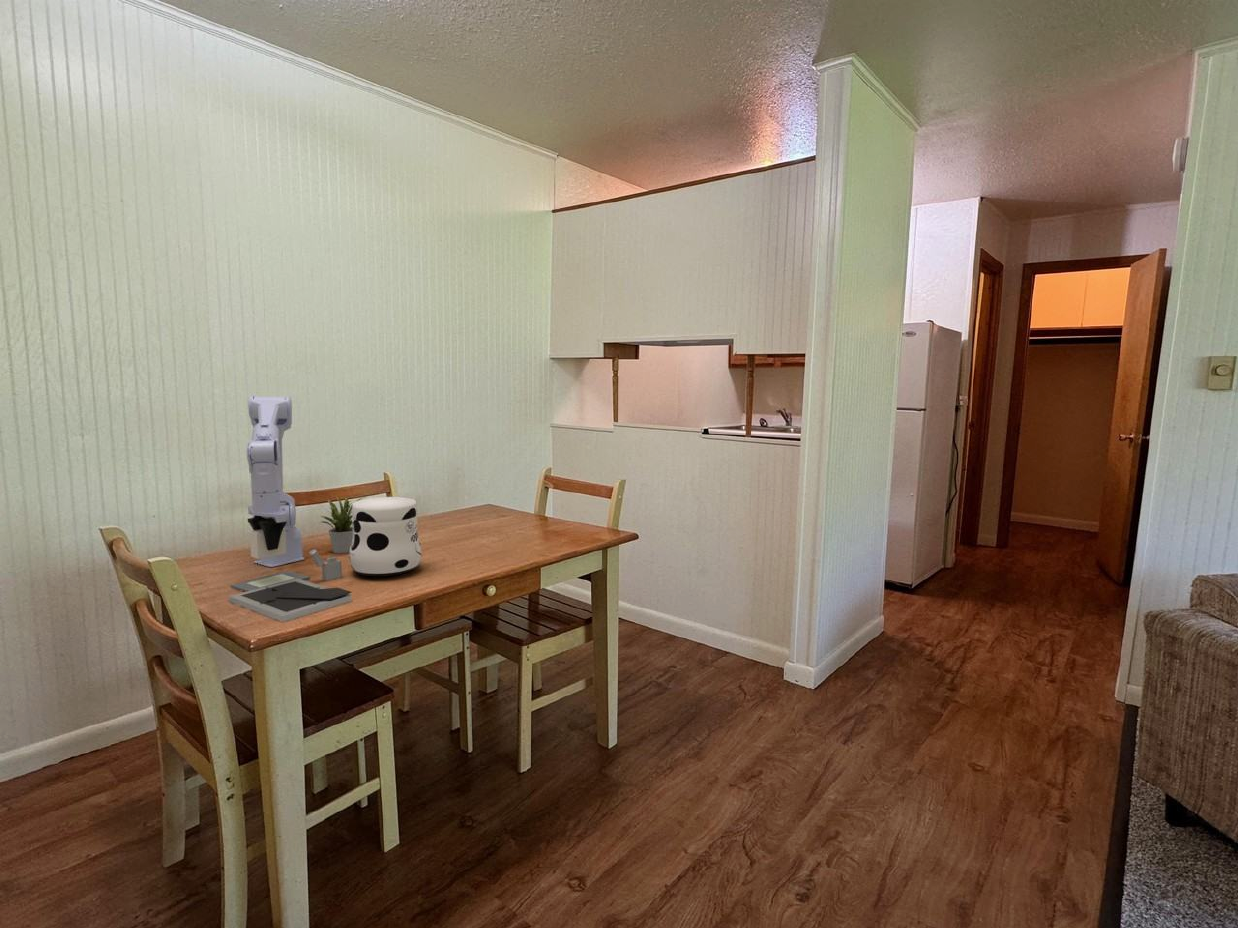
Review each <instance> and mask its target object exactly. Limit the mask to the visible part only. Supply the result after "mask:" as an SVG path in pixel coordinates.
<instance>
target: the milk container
mask: <svg viewBox="0 0 1238 928" xmlns="http://www.w3.org/2000/svg"><path fill="white" fill-rule="evenodd" d="M355 501H356V500H355ZM355 501H354V502H352V504H353V505H352V504H351V506H352V510H351V512H352V513H351V515H352V518H351V520H352V524H351V527H352V529H353V538H352V543H351V547H350V552H349V553H348V554H349V555H348V556H349V562H350V566H351V569H352V571H354V572H356V573H357V574H359V575H362V576H368V577H380V578H381V577H391V576H398V575H402V574H405V573H410V572H412V571H413V570H416V568H418V566H419V565H420V563H421V560H422V546H421V541H420V538H419V535H418V504H417V501H416V500H415V499H414V498H410V497H405V496H404V497H403V496H379V497H378V496H377V497H369V498H363V499H361V500H359V501H356V502H355Z"/></svg>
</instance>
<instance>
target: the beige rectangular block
mask: <svg viewBox="0 0 1238 928" xmlns="http://www.w3.org/2000/svg"><path fill="white" fill-rule="evenodd" d="M249 542H250V543H249V544H250V556H251V557H252V558H255V559H257V560H261V558H266V557H271V556H276V555H281V554H286V536H285V529H284V528H283V530H282V533H281V537H280V541H279V546H278V549H274V550H268V549H267V546H266V541H265V536H264V533H263V530H262V529H261V530H255V531H254V530H251V531H249Z"/></svg>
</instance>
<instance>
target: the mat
mask: <svg viewBox="0 0 1238 928" xmlns="http://www.w3.org/2000/svg"><path fill="white" fill-rule="evenodd" d="M294 579H301V580H304V581H309V580H311V577H310V576H308V575H305V574H300V573H297V572H293V571H290V570H286V571H282V572H277V573H273V574H270V575H266V576H262V577H259V578H258V577H257V578H254V579H250V580H245V581H242V582H236V583H234V584H231V585H230V588H231V589H233V590H236V591H237V590H238V591H240V590H242V591H241V592H243V591H246V592H247V591H251V590H255V589H259V588H263V587H267V586H270V585H274V584H278V583H282V582H286V581H290V580H294Z"/></svg>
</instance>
